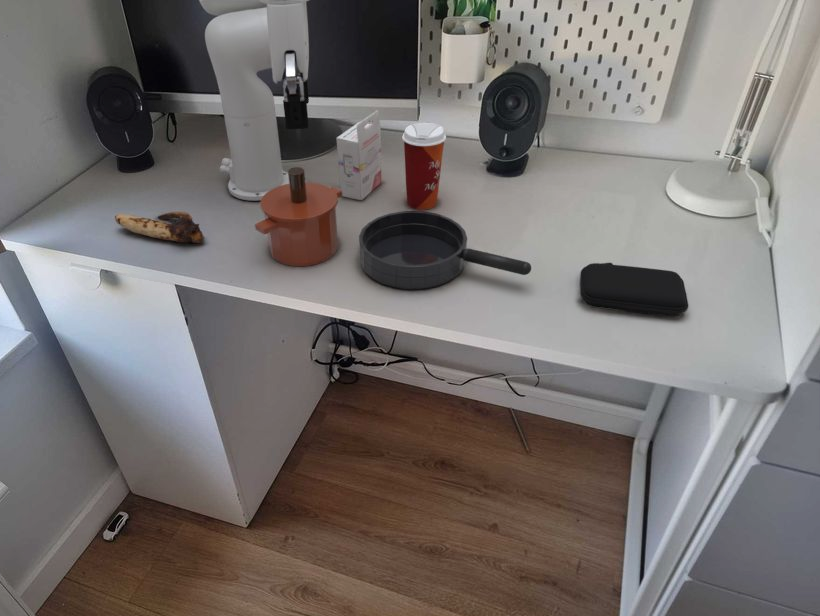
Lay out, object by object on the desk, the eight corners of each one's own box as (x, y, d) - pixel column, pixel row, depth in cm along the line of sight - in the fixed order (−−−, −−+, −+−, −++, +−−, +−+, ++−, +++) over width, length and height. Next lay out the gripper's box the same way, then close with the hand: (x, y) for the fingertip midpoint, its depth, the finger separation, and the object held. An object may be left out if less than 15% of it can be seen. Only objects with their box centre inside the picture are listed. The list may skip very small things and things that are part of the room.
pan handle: (459, 262, 100) (459, 251, 99) (463, 255, 102) (464, 244, 100) (528, 278, 96) (530, 267, 95) (531, 272, 98) (533, 260, 96)
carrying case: (678, 280, 99) (578, 269, 102) (684, 263, 97) (582, 253, 100) (686, 322, 91) (578, 309, 94) (693, 305, 89) (582, 292, 92)
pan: (341, 275, 104) (340, 251, 101) (387, 225, 115) (387, 202, 112) (440, 302, 97) (442, 277, 94) (479, 246, 108) (482, 223, 105)
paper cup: (440, 213, 117) (444, 139, 108) (398, 211, 119) (399, 137, 110) (444, 193, 123) (448, 121, 114) (404, 191, 124) (405, 120, 115)
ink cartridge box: (360, 178, 130) (358, 104, 120) (382, 183, 128) (381, 108, 118) (338, 196, 124) (334, 121, 114) (361, 201, 122) (358, 125, 112)
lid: (245, 208, 105) (239, 172, 101) (303, 181, 112) (299, 147, 108) (295, 234, 98) (291, 197, 94) (354, 204, 105) (352, 168, 101)
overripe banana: (222, 229, 117) (140, 212, 122) (219, 206, 114) (135, 189, 119) (194, 254, 110) (109, 235, 115) (189, 230, 107) (102, 211, 112)
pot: (244, 255, 109) (236, 210, 104) (317, 218, 118) (314, 174, 112) (288, 281, 103) (282, 235, 97) (362, 239, 112) (361, 195, 106)
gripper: (260, -27, 91) (275, 96, 102) (252, 3, 78) (269, 140, 89) (313, -30, 91) (322, 93, 102) (314, -1, 78) (324, 137, 89)
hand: (298, 115), depth 95 cm, fingers open, 9 cm apart
